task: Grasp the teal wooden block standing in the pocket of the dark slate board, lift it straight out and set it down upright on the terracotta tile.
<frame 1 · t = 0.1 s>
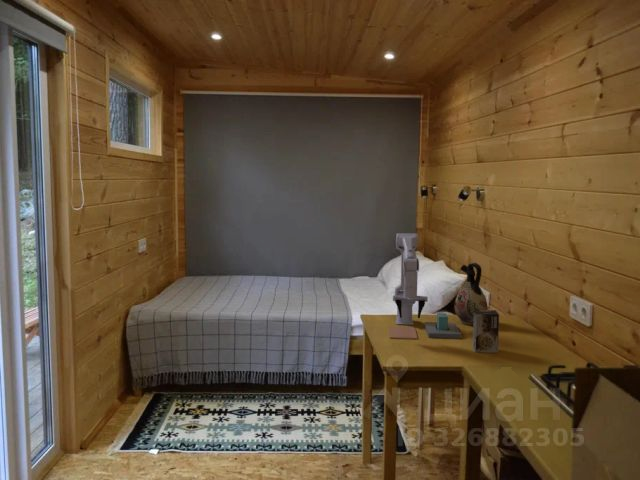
hand: (409, 317, 228), 10 cm above the table, tool pointing down, fingers open, 7 cm apart
pocket board: (442, 332, 241), on the table
teal block: (442, 323, 241), in the pocket board
terracotta tile: (402, 333, 239), on the table
ceramic jug: (471, 323, 256), on the table
coffee box: (484, 350, 216), on the table
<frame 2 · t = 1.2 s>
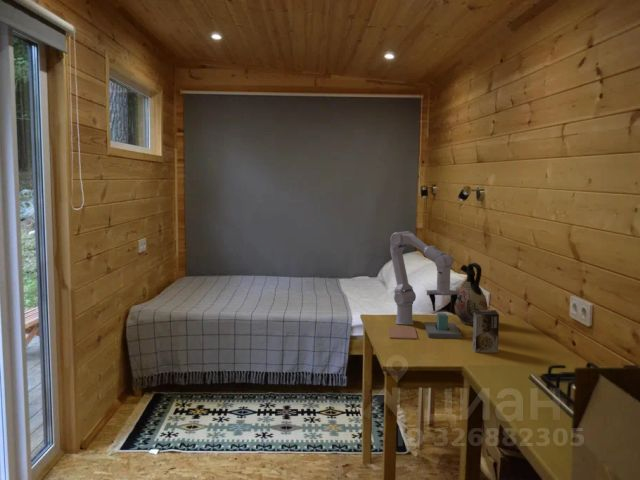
hand: (442, 311, 240), 10 cm above the table, tool pointing down, fingers open, 7 cm apart
nothing on the table moved.
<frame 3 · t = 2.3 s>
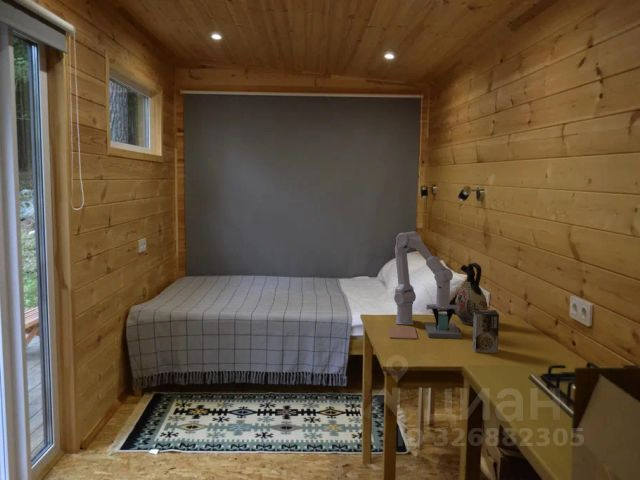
hand: (442, 325, 241), 3 cm above the table, tool pointing down, fingers closed on teal block, 4 cm apart
teal block: (442, 323, 241), in the pocket board, touching gripper
everything else where it was.
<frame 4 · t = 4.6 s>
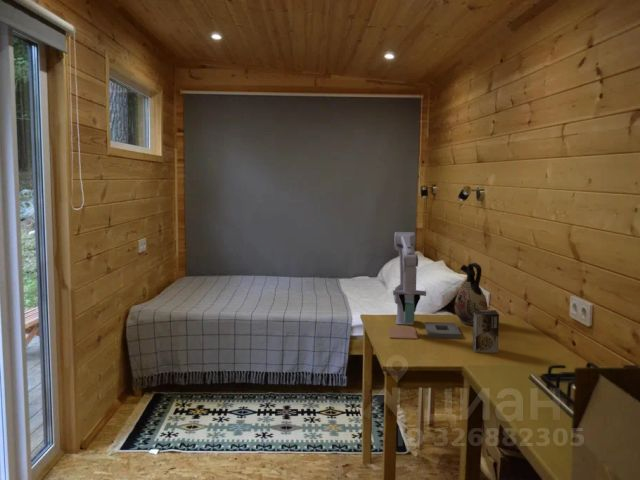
hand: (409, 311, 238), 10 cm above the table, tool pointing down, fingers closed on teal block, 4 cm apart
teal block: (409, 311, 238), point 10 cm above the table, touching gripper
everything else where it was.
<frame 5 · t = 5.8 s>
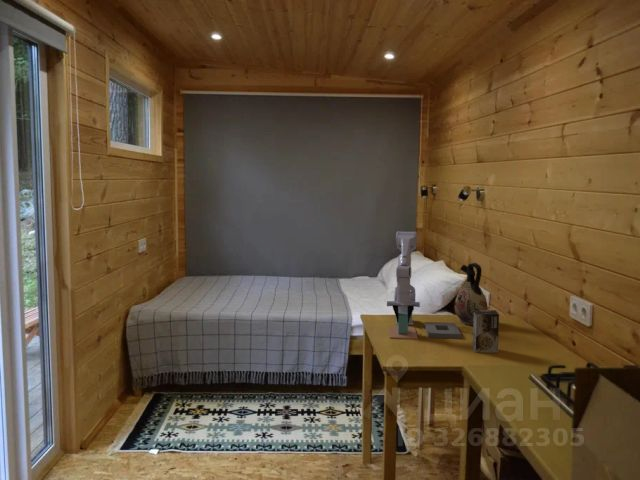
hand: (402, 322, 238), 5 cm above the table, tool pointing down, fingers closed on teal block, 4 cm apart
teal block: (402, 323, 238), point 5 cm above the table, touching gripper
everything else where it was.
when the fingers open (5 cm above the table, at t = 6.7 s): teal block stays where it is, resting on terracotta tile.
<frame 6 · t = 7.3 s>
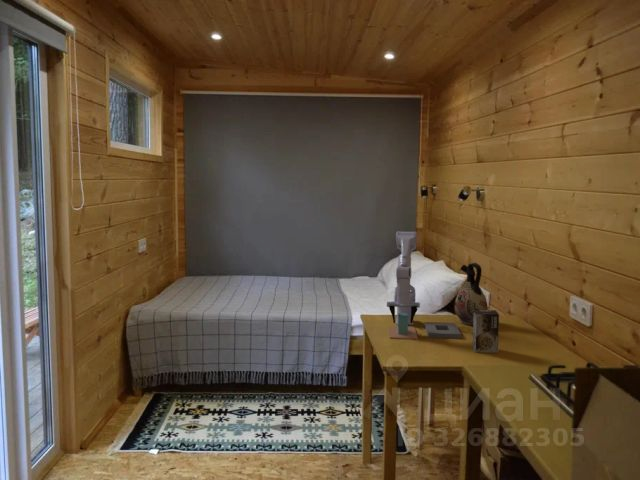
hand: (402, 322, 238), 5 cm above the table, tool pointing down, fingers open, 7 cm apart
teal block: (402, 323, 238), on the terracotta tile, point 5 cm above the table
everything else where it was.
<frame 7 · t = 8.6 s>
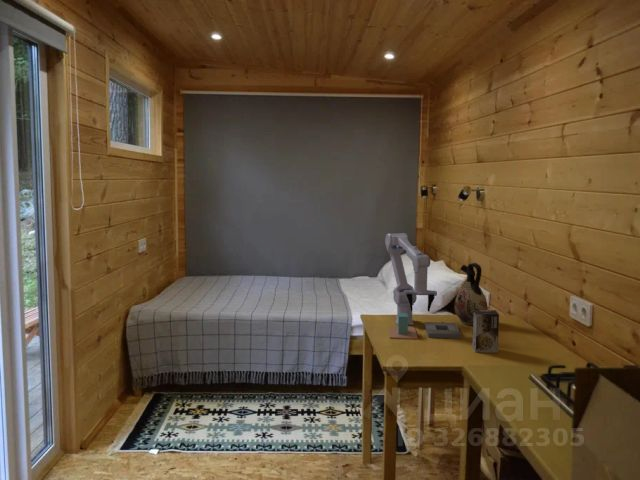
hand: (420, 310, 242), 9 cm above the table, tool pointing down, fingers open, 7 cm apart
nothing on the table moved.
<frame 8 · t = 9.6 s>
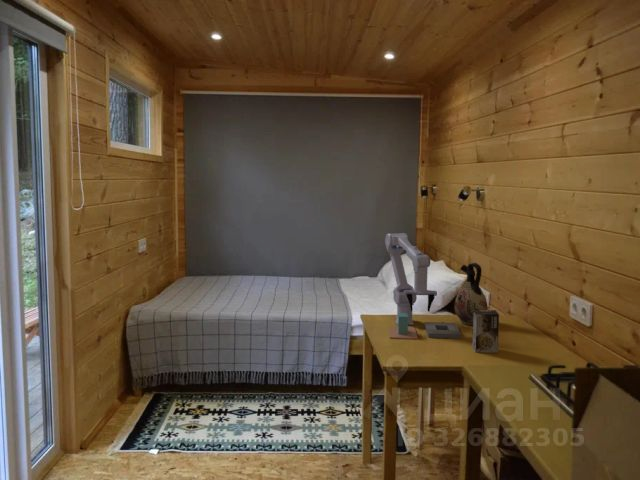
hand: (420, 310, 242), 9 cm above the table, tool pointing down, fingers open, 7 cm apart
nothing on the table moved.
at the end: teal block inside the target area on the terracotta tile (0.2 cm from its centre), point 4.6 cm above the terracotta tile's base; teal block tilted 0°; the gripper is holding nothing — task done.
